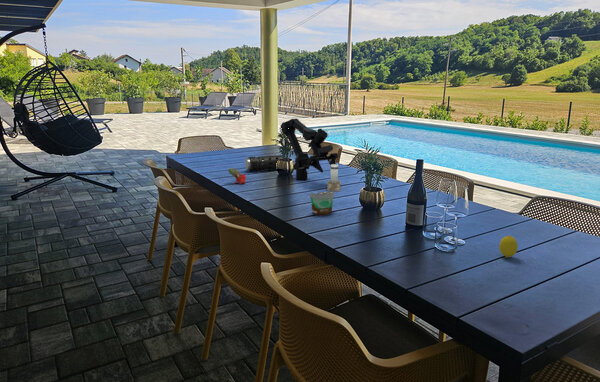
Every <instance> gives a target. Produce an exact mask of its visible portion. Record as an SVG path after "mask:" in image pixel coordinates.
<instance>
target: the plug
mask: <svg viewBox="0 0 600 382" xmlns="http://www.w3.org/2000/svg"><path fill="white" fill-rule="evenodd" d="M329 181H330V184H338V181H339V164H338V163H336V164H332V165H330V180H329Z"/></svg>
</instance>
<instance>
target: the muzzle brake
mask: <svg viewBox="0 0 600 382" xmlns="http://www.w3.org/2000/svg"><path fill="white" fill-rule="evenodd" d="M283 155H284V154H280V155H265V156H264V155H263V156H262V155H261V156H249V157H246V158H245V160H244V162H245V163H244V164H245V169H246V171H250V172H257V171H260V172H262V171H267V170H269V171H277V170H276V163H277V161H278V160H279V159H281V158H283ZM257 173H258V172H257Z"/></svg>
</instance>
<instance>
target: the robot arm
mask: <svg viewBox="0 0 600 382" xmlns="http://www.w3.org/2000/svg"><path fill="white" fill-rule="evenodd" d="M281 128H282V129H281ZM288 128H289V129H288ZM280 130H281V131H282V134H283V135H285V136H286V137H287V139H288V141H289V144H290V146H291V148H292V150H293V152H294V154H295V157H294V158H295V159H294V164H293V166H292V168H293V170H294V171H295V181H307V180H308V178H309V177H308V176H309V175H308V174H309V172H308V170H310V167H313V168H314V169H316V170H317V171H319V172H320V173H322V174H323V172H324V169H323V168H322V166H321V163H320V162H322V161H327V162H328V164H329V165H330V166H331V165H332V164H337V163H336V161H337V159H338V157H339V154H338V152H332V151H333V150H334V146H333V145H332V144H328V145H324V146H323V145H322V144H324V142H325V140H326V139H327V137H328V132H327V131H325V130H324V129H322V128H318V129H317V130H315V129H313V128H309V127H307V126H306V125H305V124H304V123H302V122H301V120H299V119H298V118H291V119H289V120H287V121H284V122H282V123H281V125H280ZM296 130H297V131H298V132H299V133H301V134H302V138H303V139H304V141H306V142H308V145H307V146H308V147H307V148H311V150H312V151H313V153H312V155H310V156H309V154H308V153H306V152H305V153H304V152H303V149H302V147H301V144H300V142H299V140H298V137H297V135H296ZM330 152H331V153H330ZM329 153H330V154H329Z"/></svg>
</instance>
